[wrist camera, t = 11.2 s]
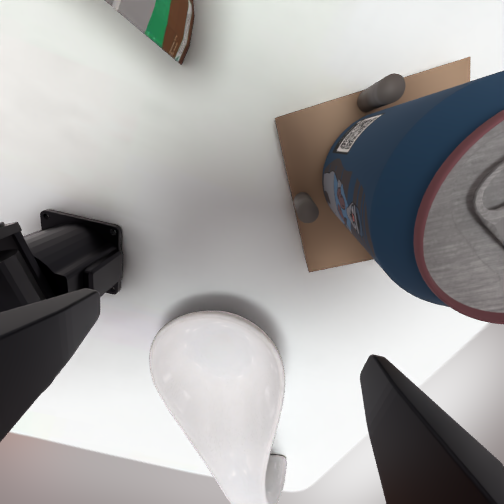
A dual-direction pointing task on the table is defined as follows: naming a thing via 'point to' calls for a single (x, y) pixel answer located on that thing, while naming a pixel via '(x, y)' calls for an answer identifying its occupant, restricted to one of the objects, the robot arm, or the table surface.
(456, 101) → the soda can
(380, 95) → the walnut cradle
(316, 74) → the table surface
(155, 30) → the food container
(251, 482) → the spoon rest
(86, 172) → the table surface
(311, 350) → the table surface
